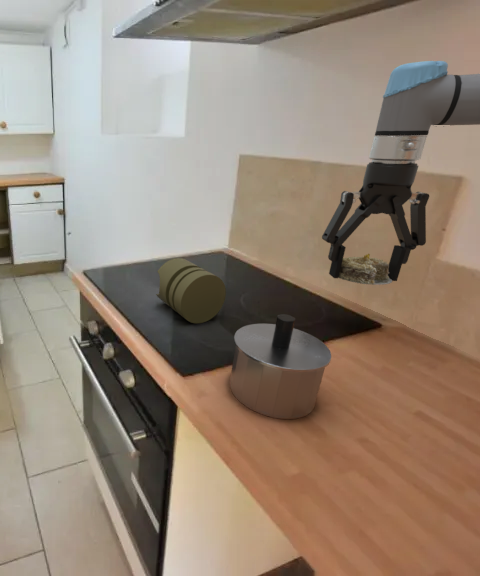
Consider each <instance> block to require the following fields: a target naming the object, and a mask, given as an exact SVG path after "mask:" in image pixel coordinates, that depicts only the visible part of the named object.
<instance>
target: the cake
mask: <svg viewBox="0 0 480 576" xmlns="http://www.w3.org/2000/svg"><path fill="white" fill-rule="evenodd" d="M370 255H371V254H370V253H367V254H365V255H364V256H348V257H343V261H342V265H341V269H340V273H339V277H338V278H337V279H340V280H343V281H347V282H351V283H354V284H355V283H356V284H359V285H360V284H361V285H371V286H372V285H373V286H375V285H376V286H377V285H379V286H380V285H382V286H383V285H389V284H392V283H393V281H392V279H390V278H389V276H388V274H389V272H388V271H389V270H388V269H389V263H388V262H387V261H384V260H383V259H379V258H376V257H370Z"/></svg>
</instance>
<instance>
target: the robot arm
mask: <svg viewBox="0 0 480 576" xmlns="http://www.w3.org/2000/svg"><path fill="white" fill-rule="evenodd" d="M448 68H449V64H448V62H447V61H445V60H424V61H415V62H407V63H404V64H400V65H398V66H397V67H394V69H393V70H392V71H391V73H390V75H389V78H388V82H387V85H386V88H385V90H384V93H383V95H382V103H381V107H380V111H379V116H378V119H377V125H376V128H375V132H374V135H373V140H372V143H371V148H370V152H369V155H368V159H370V160H371V162H368V163H367V164H366V167H365V172H364V176H363V179H362V186H361V188H360V189H359V190H358V191H347V190H343V191H341V194H340V199H339V200H340V201H339V204H338V206H337V208H336V209H335V211H334V213H333V215H332V216H331V219H330V221H329V222H328V225H327V226H326V227H325V230H324V231H323V234H322V235H321V240H323V241H325V242H326V243H328V244H330V247H329V251H328V255H327V258H328V260H329V261H331V263H330V268H329V270H328V271H329V272H328V274H329V276H331V277H332V278H333V279H339V278H338V277H339V273H340V269H341V265H342V261H343V258H345V257H344V256H345V252H346V246H345V245H343V244H344V243H345V242H346V241H347V240H348V239H349V237H350V236H351V235H352V234H354V232H355V231H356V230H357V229H358V227H359V226H360V225H361V224H362V223H363V222H364V221H365V219H367V218H369V217H370V216H371V215H379V214H384V215H388V216H389V217H390V220H391V223H392V226H393V229H394V231H395V234H396V237H397V240H398V244H399V245H396V244H395V245H393V249H392V253H391V255H390V258H389V262H388V264H389V269H388V270H389V271H388V272H389V274H388V276H389V278H390V279H392V282H397V281H398V278H399V275H400V272H401V269H402V266H403V265H406V264H407V263H408V262H409V261H408V260H409V257H410V254H411V251H413V250H415V249H416V248H417V247H419V246H420V247H421V246H425V245H426V244H427V243H426V242H427V224H426V223H427V221H426V220H427V219H426V217H427V215H426V214H427V213H426V211H427V210H426V206H427V204H428V201H429V200H430V194H429V193H426V192H422V191H416V192H413V191H412V186H413V184H414V183H415V180H416V176H417V173H418V169H419V165H418V163H416V161H419V160H421V158H422V154H423V151H424V148H425V145H426V142H427V138H428V136H429V132H430V128H431V126H434V125H450V126H475V125H476V126H479V125H480V74H479V73H472V74H470V73H469V74H448V73H449V71H448ZM357 199H359V202H360V203H359V205H358V206H357V207H356V209H354V212H353V214H352V215H351V216H350V217H349V218H348V219H347V216H348V215H349V213H350V210H351V209H352V206H353V204H355V203H356V201H357ZM407 202H409V204H410V207H409V208H410V209H409V211H410V214H409V217H410V228H409V225H408V222H407V219H406V217H405V216H406V212H405V209H404V207H403V206H404V204H406V203H407ZM346 219H347V221H345V220H346ZM344 222H345V223H344ZM343 223H344V224H343Z"/></svg>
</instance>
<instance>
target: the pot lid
mask: <svg viewBox="0 0 480 576" xmlns="http://www.w3.org/2000/svg"><path fill="white" fill-rule="evenodd" d="M276 317H277V318H276V321H275V323H252V324H247V325H244V326H242V327H240V328H238V329H237V330H236V332H234V335H233V341H234V345H235V346H236V347H237V348H238V350H239V351H240V352H241V353H243V354H244V355H245V356H247V357H248V358H250V359H252V360H253V361H255V362H258V363H260V364H262V365H265V366H268V367H271V368H274V369H278V370H283V371H289V372H313V371H318V370H321V369H323V368H326V367H328V366H329V365H330V363H331V360H332V352H331V350H330V348H329V347H328V346H327V344H325V343H324V342H323V341H322V340H320V339H319V338H317V337H316V336H314V335H312V334H310V333H307V332H305V331H303V330H300V329H298V328H295V323H296V318H295V317H294V316H292V315H290V314H286V313H281V314H278V315H277V316H276Z"/></svg>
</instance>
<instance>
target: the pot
mask: <svg viewBox="0 0 480 576" xmlns="http://www.w3.org/2000/svg"><path fill="white" fill-rule="evenodd" d="M232 358H233V359H232V366H231V371H230V378H229V387H230V388H229V389H230V391H231V393H232V395H233V396H234V397H235V399H237V400H238V402H239V403H240V404H242V405H244V406H245V407H246V408H248V409H250V410H251V411H253V412H255V413H257V414H260V415H262V416H267V417H269V418H273V419H280V420H297V419H301V418H304V417H306V416H308V415H309V414H310V413H311V412H313V410H314V408H315V406H316V402H317V398H318V395H319V392H320V387H321V383H322V380H323V376H324V372H325V368H326V367H325V368H323V369H321V370H318V371H313V372H289V371H283V370H278V369H274V368H271V367H268V366H265V365H262V364H260V363H258V362H255V361H253V360H252V359H250V358H248V357H247V356H245V355H244V354H243V353H241V352H240V351H239V350H238V348H237V347H236V345H235V347H234V353H233V357H232Z"/></svg>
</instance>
